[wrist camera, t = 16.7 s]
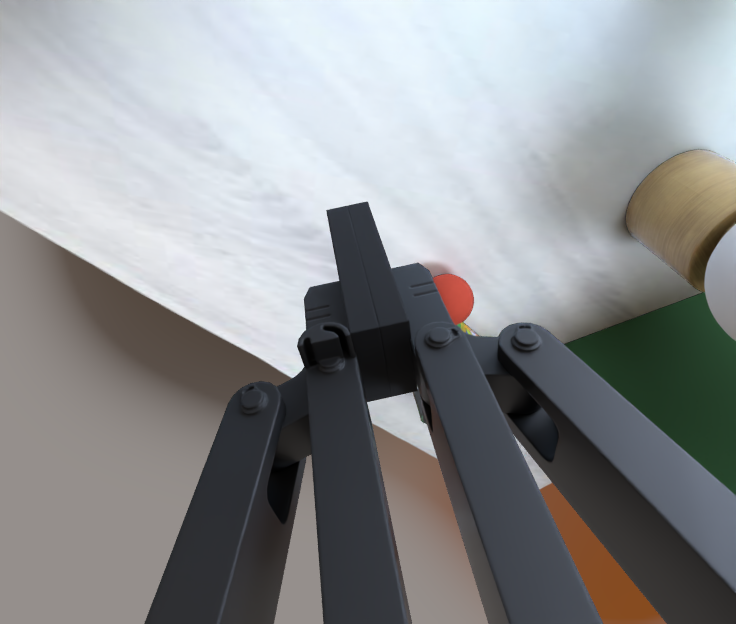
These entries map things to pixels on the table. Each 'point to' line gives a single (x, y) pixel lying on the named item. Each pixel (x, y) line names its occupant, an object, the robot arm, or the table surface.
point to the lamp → (692, 225)
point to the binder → (675, 377)
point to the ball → (455, 296)
